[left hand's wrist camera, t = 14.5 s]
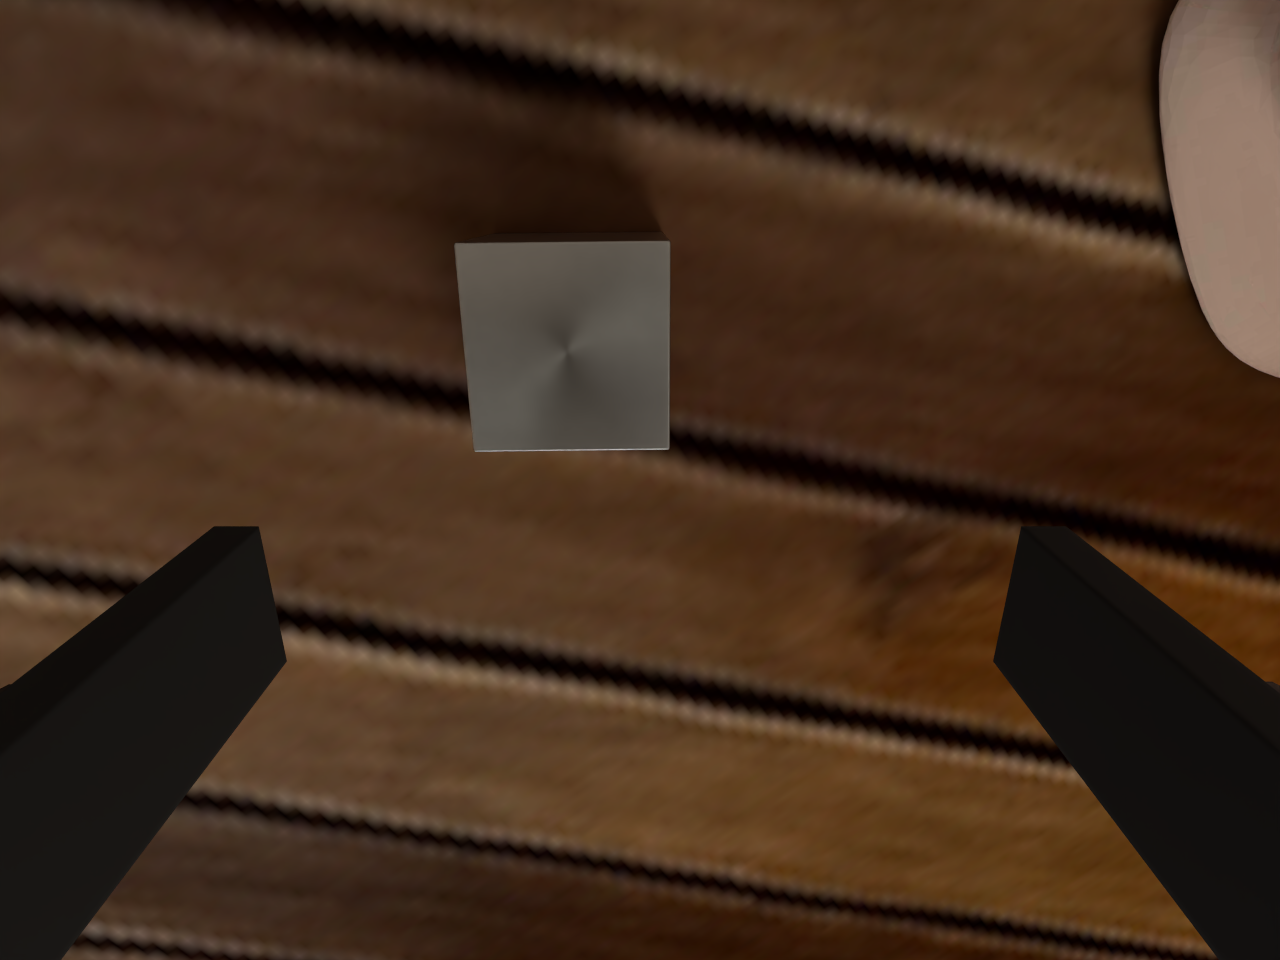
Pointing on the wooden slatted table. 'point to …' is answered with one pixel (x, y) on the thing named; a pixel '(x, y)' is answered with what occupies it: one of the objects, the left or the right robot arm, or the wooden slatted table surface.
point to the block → (566, 340)
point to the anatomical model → (1227, 165)
